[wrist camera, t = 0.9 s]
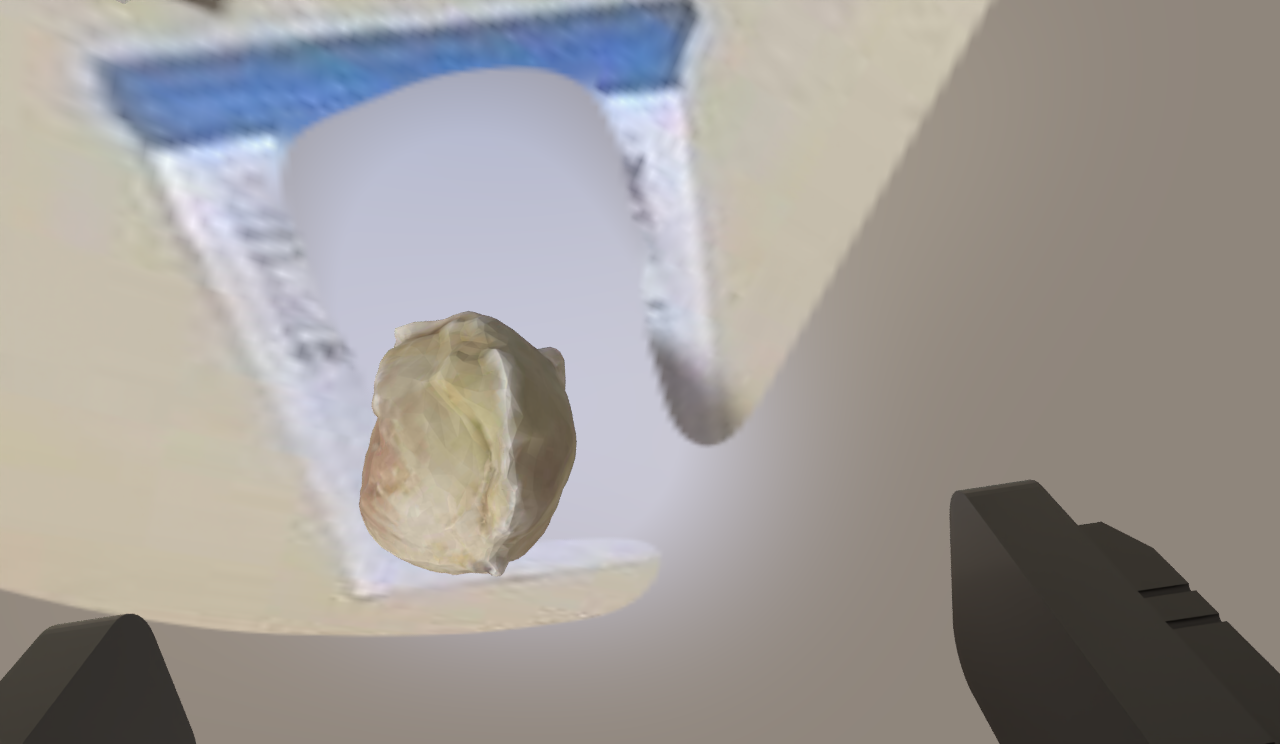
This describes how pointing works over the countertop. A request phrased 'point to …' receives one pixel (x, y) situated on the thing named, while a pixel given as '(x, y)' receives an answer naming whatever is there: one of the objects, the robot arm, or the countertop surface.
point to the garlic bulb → (466, 445)
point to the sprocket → (123, 1)
